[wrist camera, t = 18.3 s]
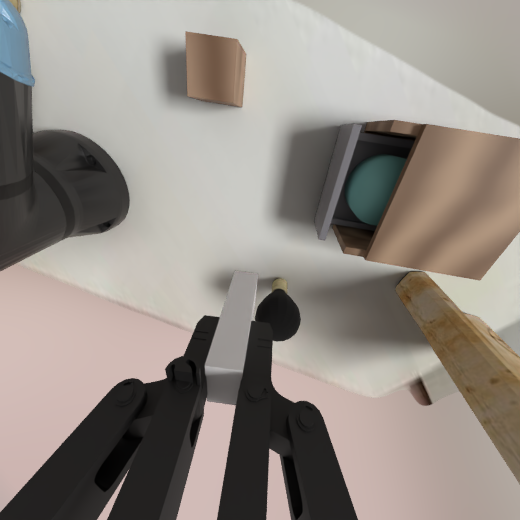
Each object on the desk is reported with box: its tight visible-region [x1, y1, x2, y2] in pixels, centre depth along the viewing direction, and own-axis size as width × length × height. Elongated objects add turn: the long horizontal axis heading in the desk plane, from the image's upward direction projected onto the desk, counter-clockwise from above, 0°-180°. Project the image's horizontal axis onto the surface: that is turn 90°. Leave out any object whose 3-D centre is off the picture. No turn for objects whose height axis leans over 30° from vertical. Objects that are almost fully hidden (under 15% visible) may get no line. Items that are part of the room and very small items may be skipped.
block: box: [186, 32, 246, 107], centre depth 24 cm, size 5×5×5 cm
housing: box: [333, 120, 520, 280], centre depth 27 cm, size 16×14×9 cm
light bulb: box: [255, 279, 301, 341], centre depth 36 cm, size 7×7×12 cm
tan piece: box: [395, 272, 520, 484], centre depth 27 cm, size 23×6×30 cm, turn 51°
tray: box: [314, 124, 415, 240], centre depth 27 cm, size 18×13×6 cm
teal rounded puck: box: [345, 154, 407, 225], centre depth 28 cm, size 8×8×4 cm
